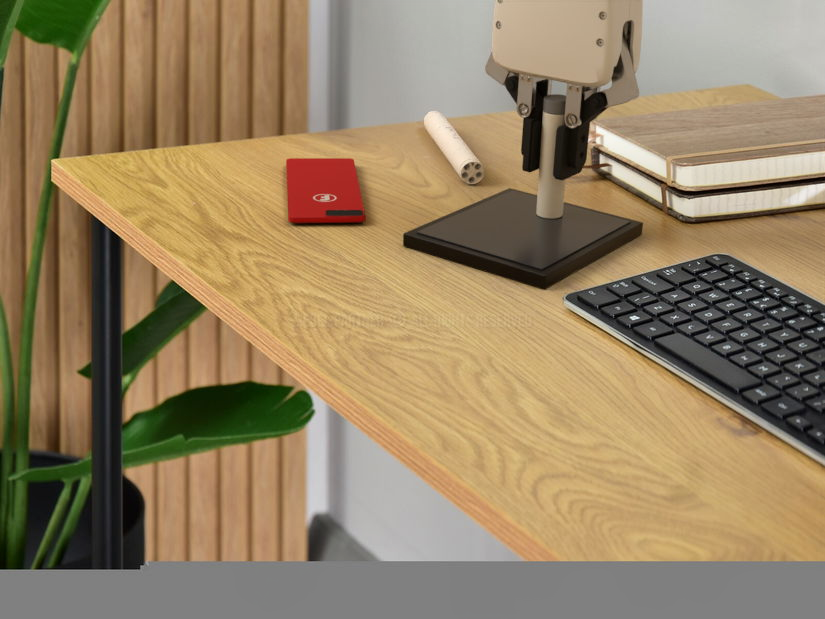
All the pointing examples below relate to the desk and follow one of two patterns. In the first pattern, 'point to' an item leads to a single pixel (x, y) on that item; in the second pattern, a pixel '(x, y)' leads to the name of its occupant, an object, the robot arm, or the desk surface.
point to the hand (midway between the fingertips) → (552, 169)
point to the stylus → (550, 159)
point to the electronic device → (323, 191)
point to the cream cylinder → (454, 148)
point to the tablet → (523, 238)
